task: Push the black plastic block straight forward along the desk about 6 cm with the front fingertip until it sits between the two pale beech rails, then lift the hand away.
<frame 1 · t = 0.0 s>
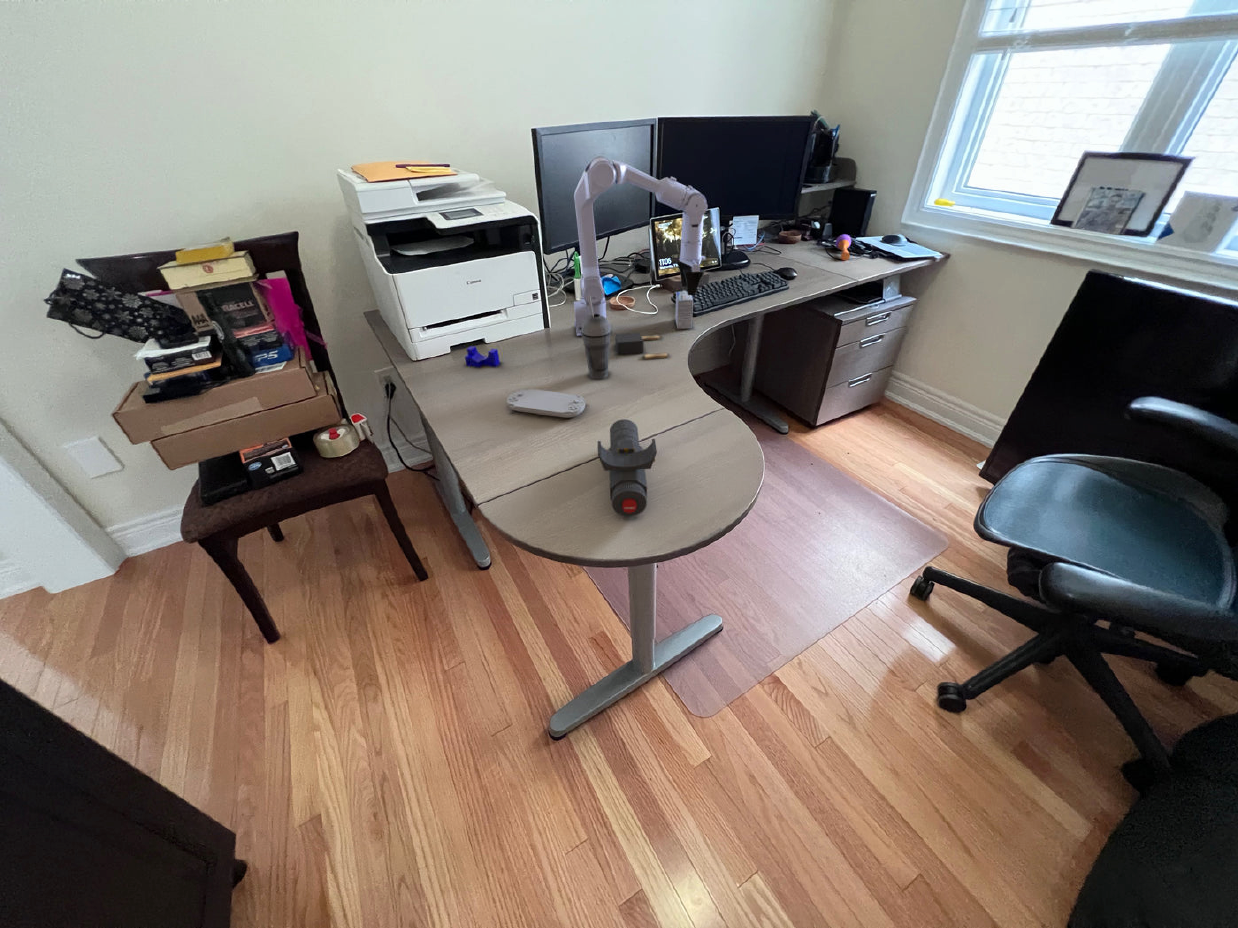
hand: (688, 290, 143), 10 cm above the table, tool pointing down, fingers open, 7 cm apart
laser sight: (626, 479, 91), on the table
black block: (629, 349, 136), on the table
medicine box: (683, 324, 149), on the table
cable holder: (483, 365, 131), on the table
game console: (546, 408, 112), on the table
beverage cup: (598, 375, 124), on the table
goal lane: (652, 347, 136), on the table
kendama: (842, 254, 204), on the table
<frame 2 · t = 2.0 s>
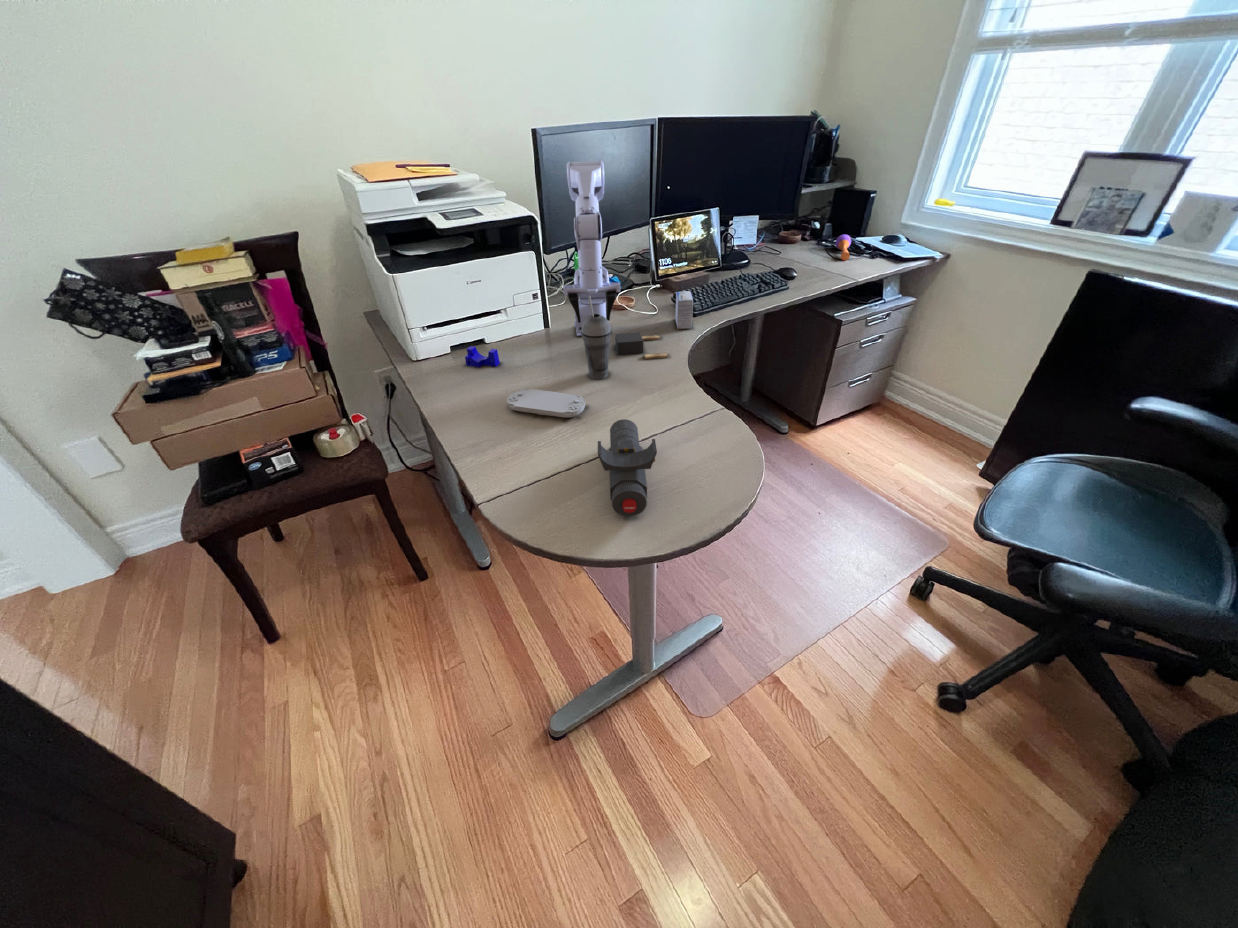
hand: (593, 320, 131), 8 cm above the table, tool pointing down, fingers open, 7 cm apart
nothing on the table moved.
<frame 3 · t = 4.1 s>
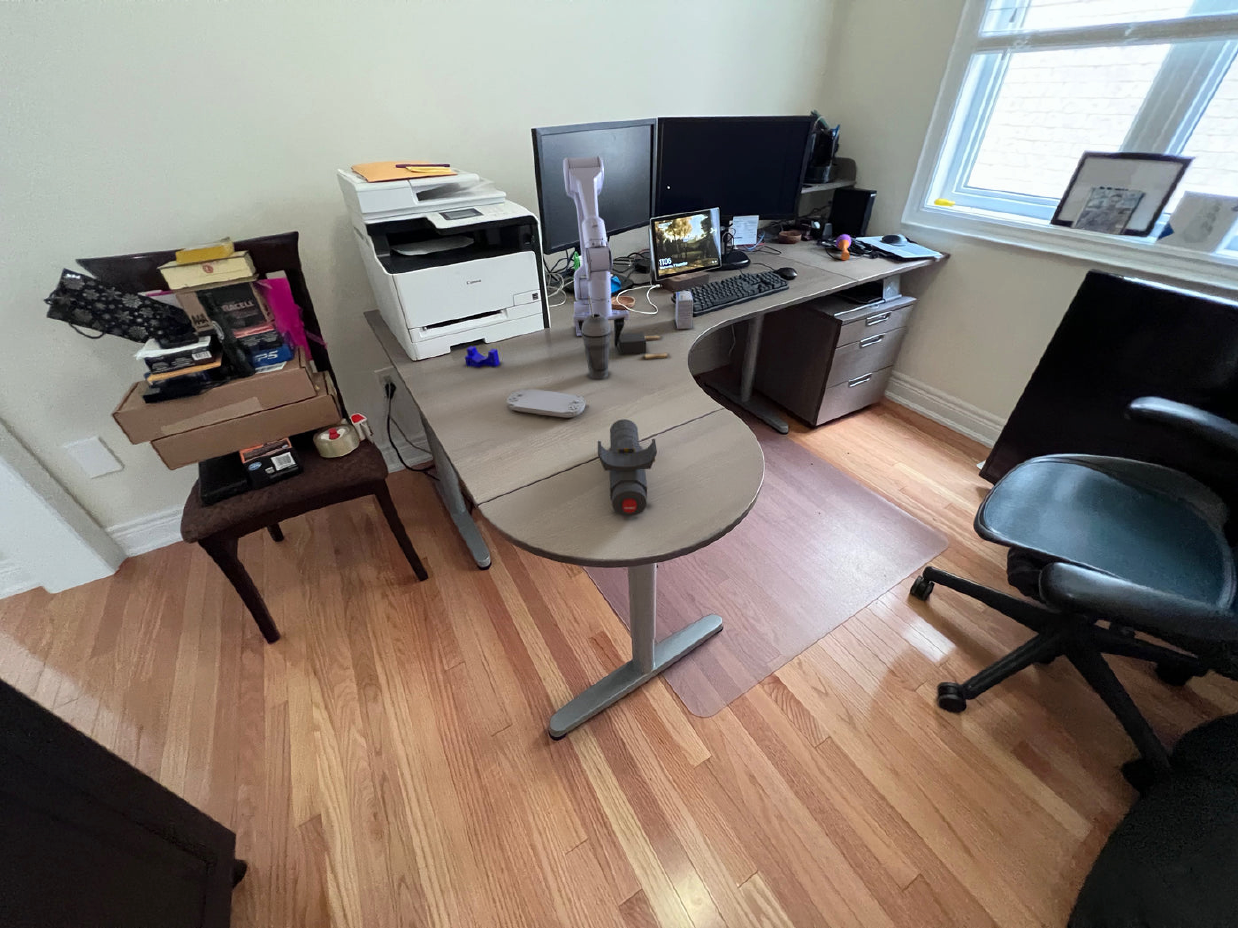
hand: (602, 346, 134), 1 cm above the table, tool pointing down, fingers open, 7 cm apart
black block: (631, 349, 136), on the table, touching gripper
everything else where it was.
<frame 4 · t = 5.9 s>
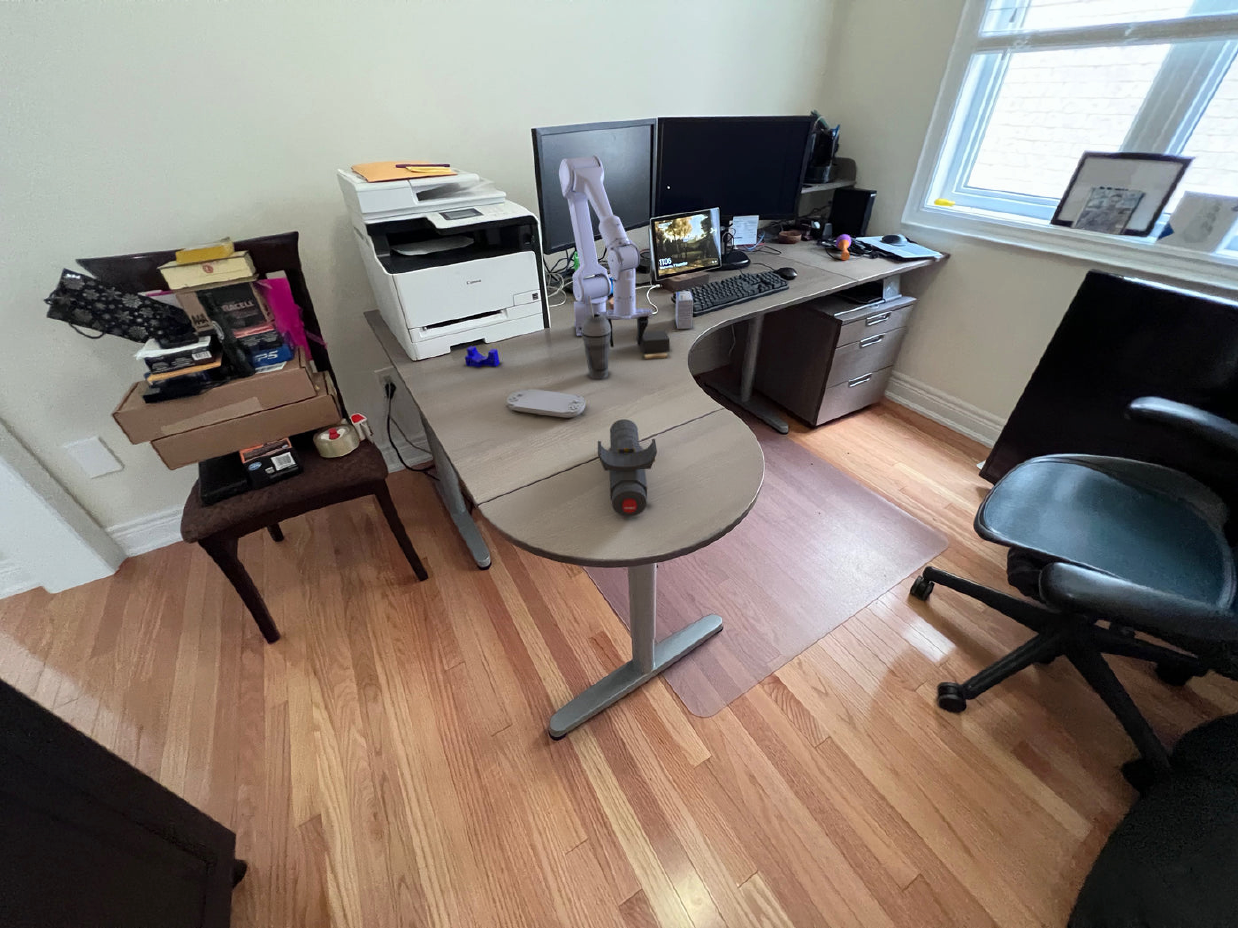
hand: (625, 344, 135), 1 cm above the table, tool pointing down, fingers open, 7 cm apart
black block: (654, 347, 136), on the table, touching gripper
everything else where it was.
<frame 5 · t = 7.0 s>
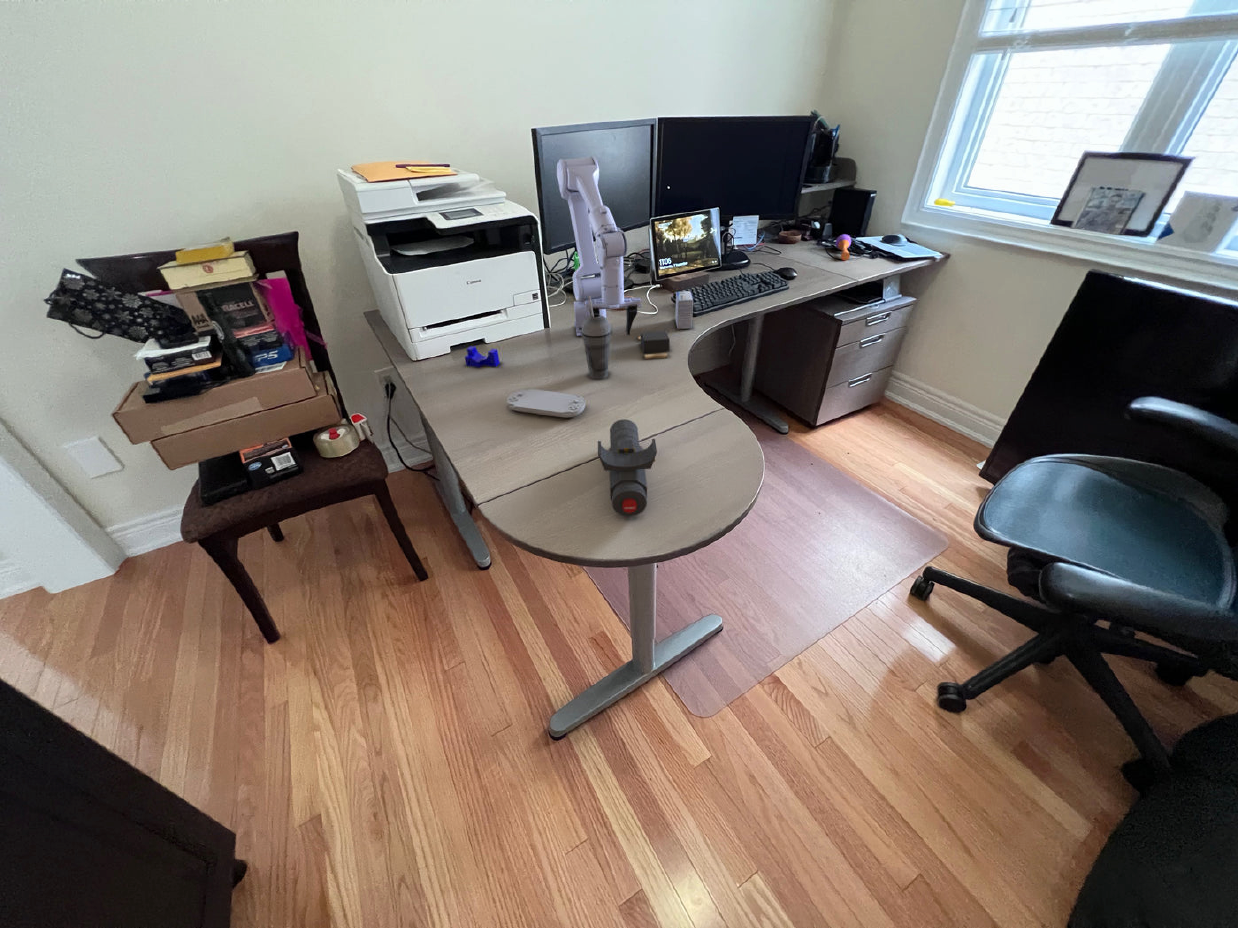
hand: (614, 334, 133), 5 cm above the table, tool pointing down, fingers open, 7 cm apart
black block: (654, 347, 136), on the table
everything else where it was.
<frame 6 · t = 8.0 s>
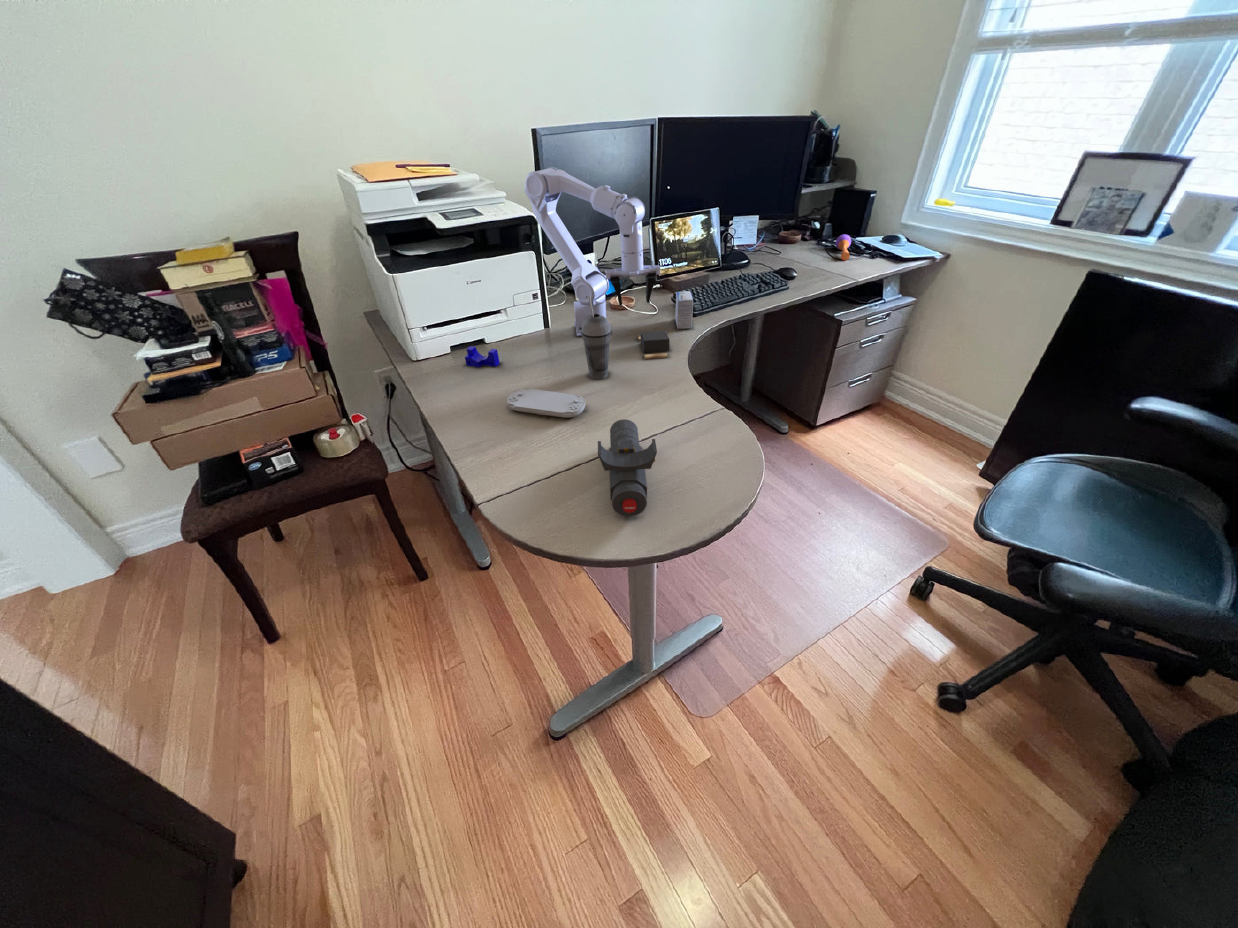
hand: (634, 303, 136), 10 cm above the table, tool pointing down, fingers open, 7 cm apart
nothing on the table moved.
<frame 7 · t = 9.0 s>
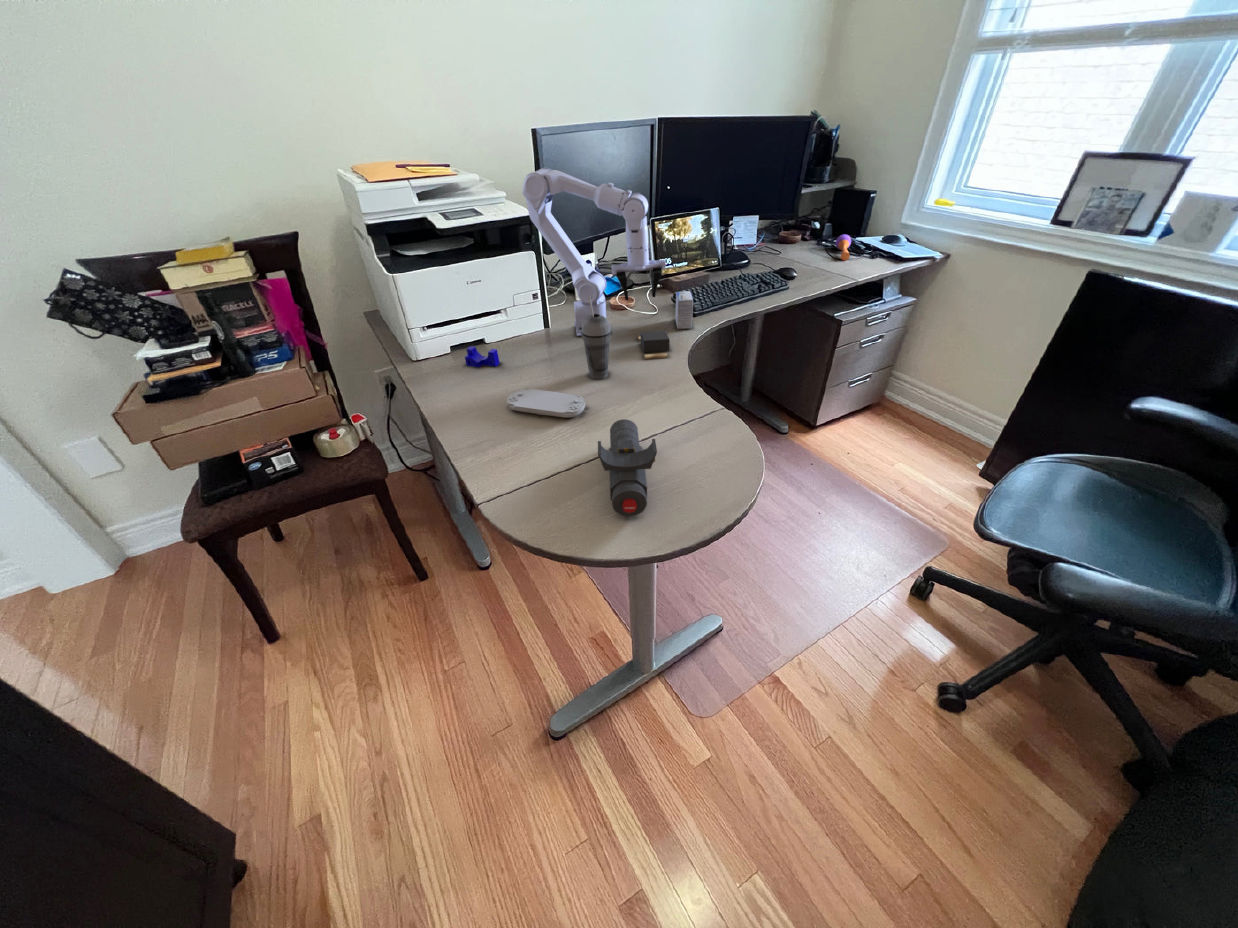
hand: (640, 297, 138), 10 cm above the table, tool pointing down, fingers open, 7 cm apart
nothing on the table moved.
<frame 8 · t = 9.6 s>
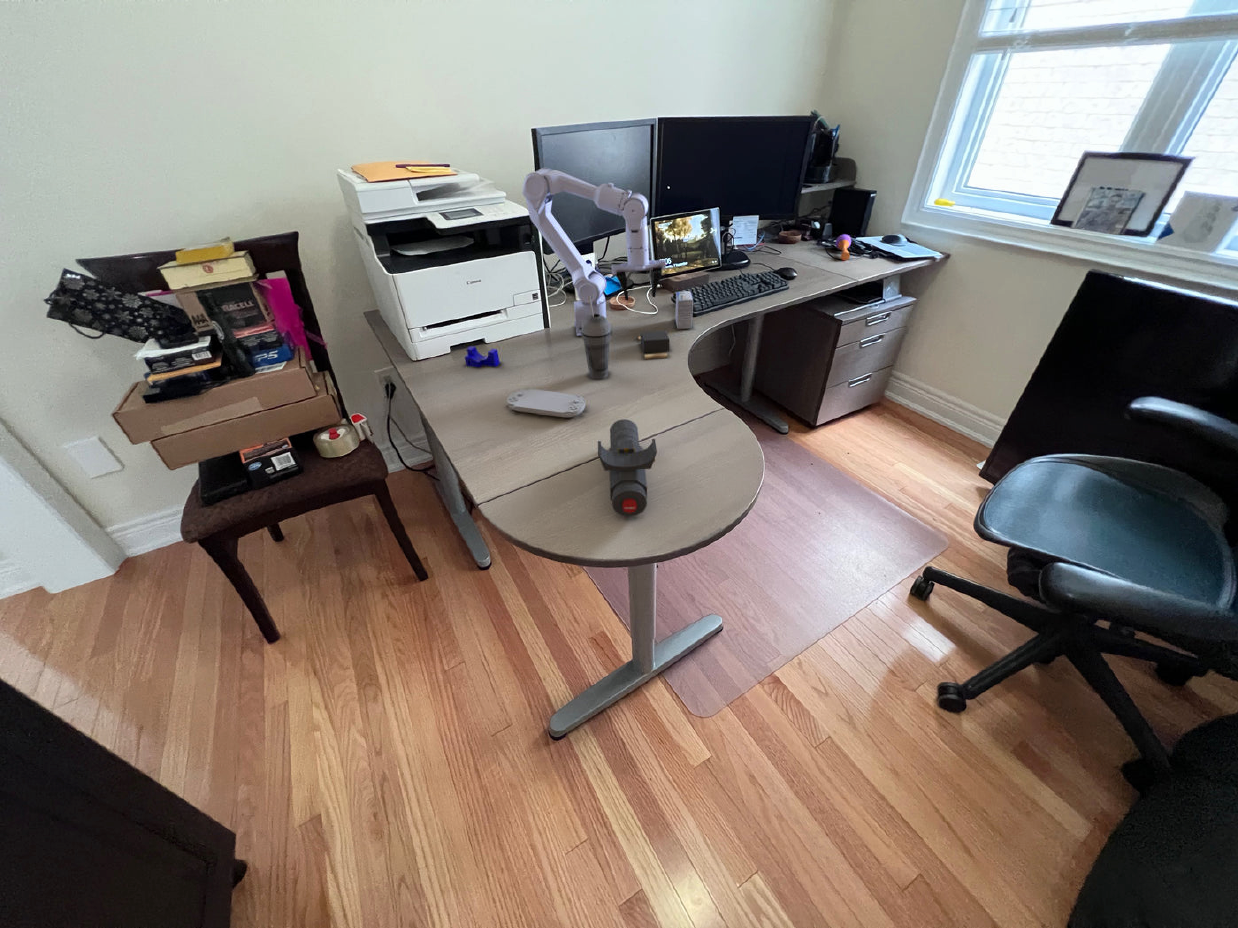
hand: (640, 297, 138), 10 cm above the table, tool pointing down, fingers open, 7 cm apart
nothing on the table moved.
at the end: black block 0.1 cm from the target spot, on the table; black block moved 7.2 cm from its start; black block tilted 0° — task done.
